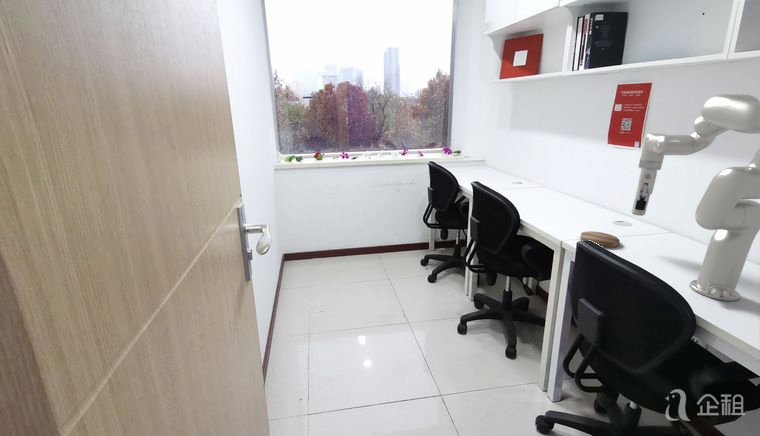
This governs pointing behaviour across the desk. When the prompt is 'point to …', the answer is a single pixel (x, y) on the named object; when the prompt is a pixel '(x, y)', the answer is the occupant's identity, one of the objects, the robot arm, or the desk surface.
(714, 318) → the desk surface
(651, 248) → the desk surface
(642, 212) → the beverage can
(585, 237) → the walnut board
